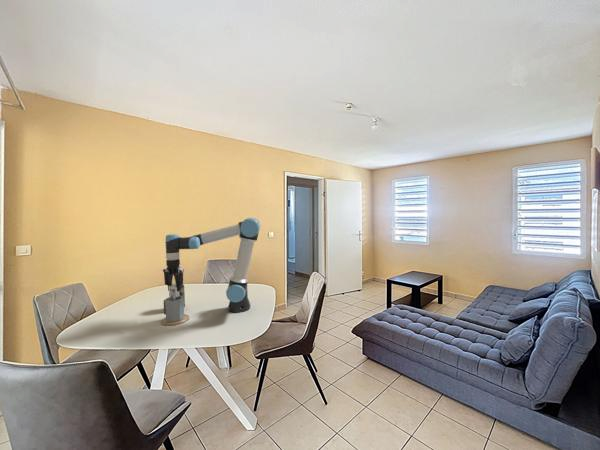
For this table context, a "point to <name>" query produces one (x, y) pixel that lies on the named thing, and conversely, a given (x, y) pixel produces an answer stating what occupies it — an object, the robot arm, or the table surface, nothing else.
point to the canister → (182, 292)
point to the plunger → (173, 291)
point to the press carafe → (174, 311)
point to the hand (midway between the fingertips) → (174, 296)
